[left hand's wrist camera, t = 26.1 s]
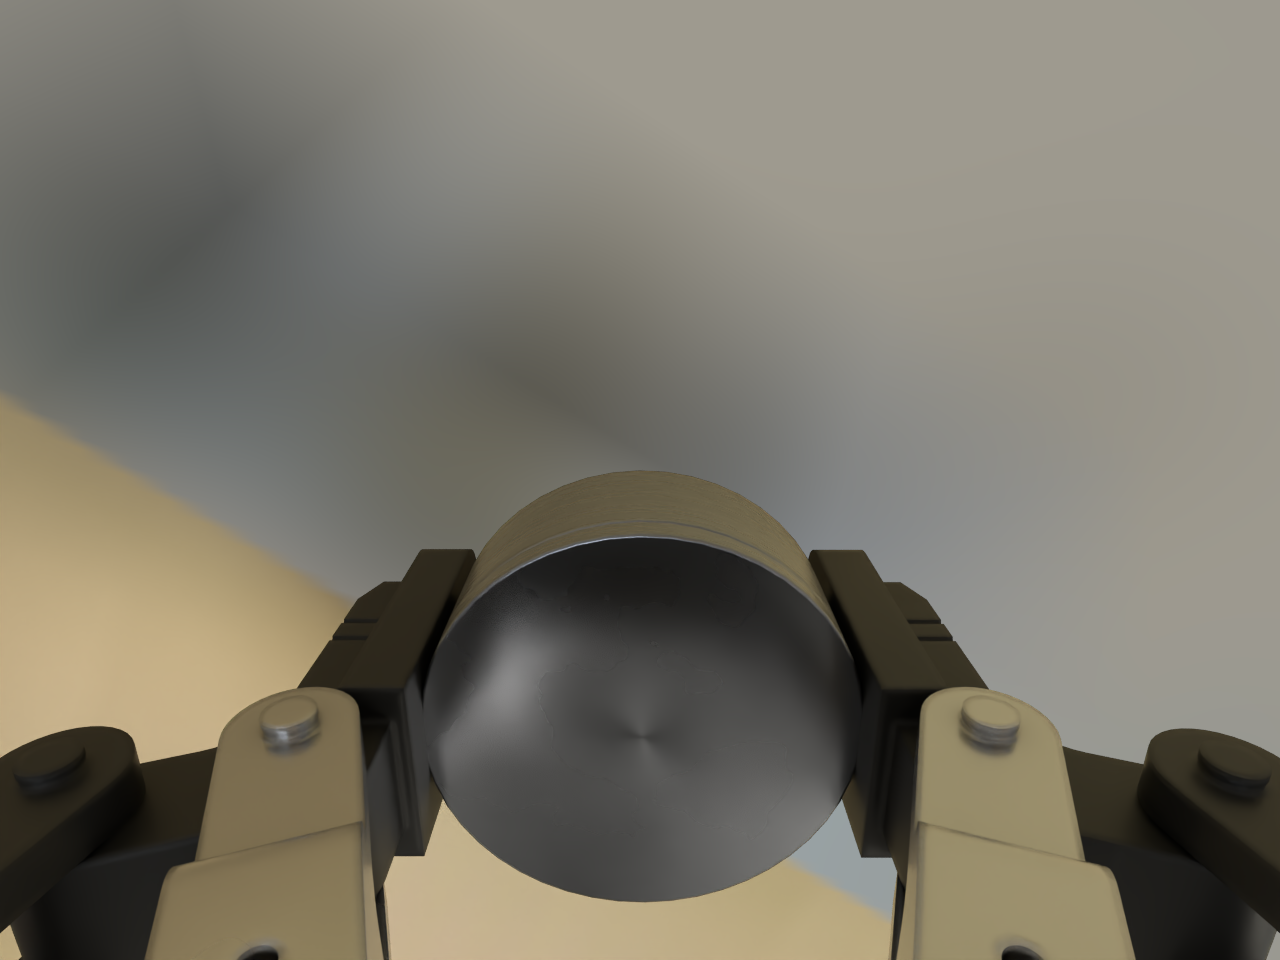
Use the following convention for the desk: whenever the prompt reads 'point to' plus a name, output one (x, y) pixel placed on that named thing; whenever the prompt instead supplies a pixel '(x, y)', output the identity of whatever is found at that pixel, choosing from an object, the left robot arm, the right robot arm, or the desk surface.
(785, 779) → the lid
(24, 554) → the desk surface
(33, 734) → the desk surface
